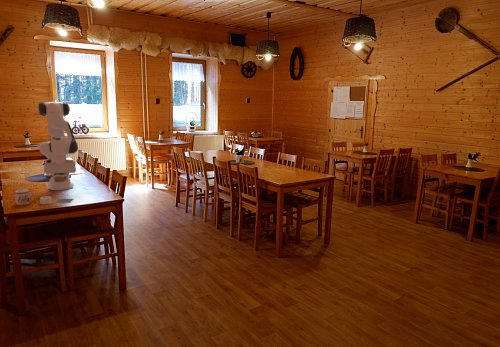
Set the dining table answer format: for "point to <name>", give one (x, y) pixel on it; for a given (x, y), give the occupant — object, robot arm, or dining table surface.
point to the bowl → (45, 200)
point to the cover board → (60, 178)
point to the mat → (64, 200)
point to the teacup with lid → (22, 196)
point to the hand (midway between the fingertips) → (60, 179)
